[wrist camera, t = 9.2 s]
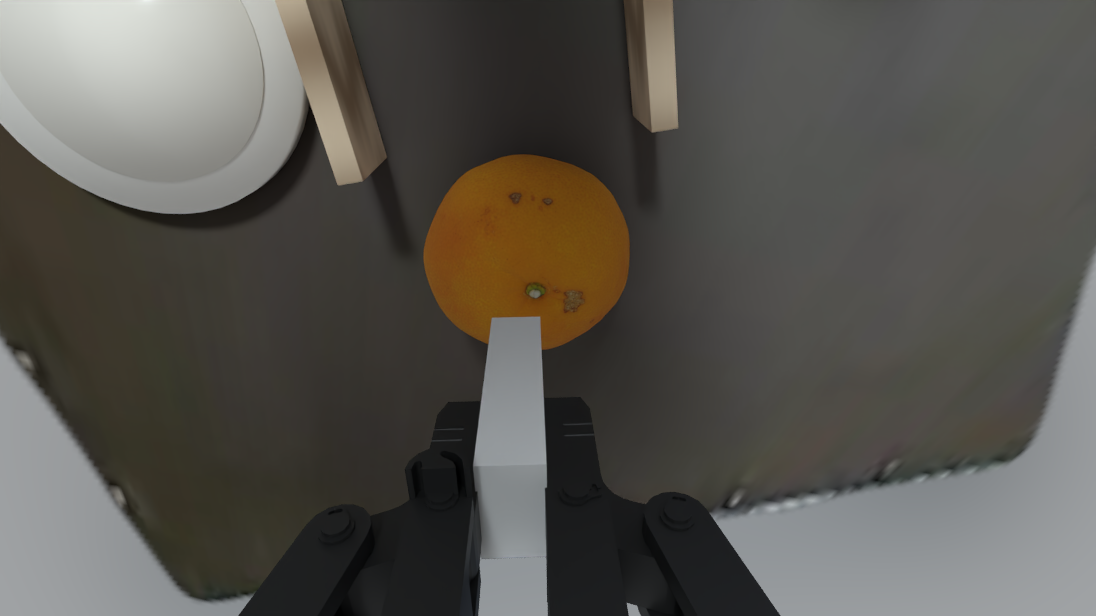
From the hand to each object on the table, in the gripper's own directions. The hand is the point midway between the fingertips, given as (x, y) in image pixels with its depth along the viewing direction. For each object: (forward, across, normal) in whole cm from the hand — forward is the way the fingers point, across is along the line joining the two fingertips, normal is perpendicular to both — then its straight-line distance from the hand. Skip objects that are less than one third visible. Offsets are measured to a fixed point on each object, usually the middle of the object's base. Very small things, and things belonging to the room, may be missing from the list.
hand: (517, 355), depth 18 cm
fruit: (+16, 0, -1) cm, 16 cm away
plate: (+16, -18, +9) cm, 26 cm away
